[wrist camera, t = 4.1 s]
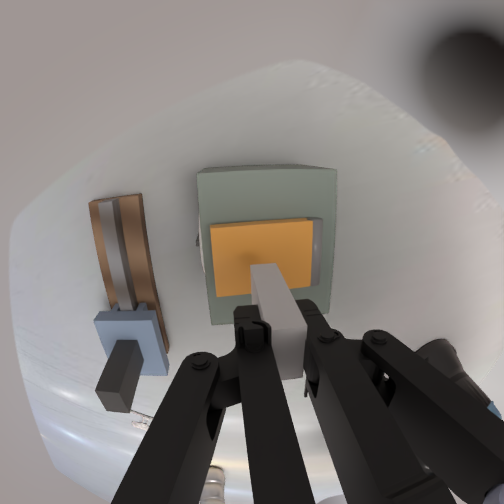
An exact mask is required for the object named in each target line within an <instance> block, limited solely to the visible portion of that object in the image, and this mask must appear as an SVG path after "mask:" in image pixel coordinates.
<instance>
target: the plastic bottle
mask: <svg viewBox="0 0 504 504" xmlns="http://www.w3.org/2000/svg"><path fill="white" fill-rule="evenodd" d="M224 485H225V475H224V472H223V471H222V470H221V469H218V468H213V467H209V471H208V474H207V477H206V481H205V484H204V487H203V491H202V494H201V497H200V504H225V502H224V501H225V500H224Z"/></svg>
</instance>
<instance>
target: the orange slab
mask: <svg viewBox="0 0 504 504" xmlns="http://www.w3.org/2000/svg"><path fill="white" fill-rule="evenodd" d="M210 232H211V244H212V255H213V266H214V276H215V286H216V295H217V297H224V296H234V295H243V294H251V273H250V265H254V264H268V263H276V264H277V266H278V268H279V270H280V272H281V274H282V276H283V278H284V280H285V282H286V284H287V286H288V288H289V289H293V288H301V287H308V286H318V285H319V284H320V272H321V255H322V233H323V219H322V218H318V217H309V218H295V219H280V220H265V221H252V222H239V223H227V224H215V225H210Z"/></svg>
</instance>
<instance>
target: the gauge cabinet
mask: <svg viewBox="0 0 504 504" xmlns="http://www.w3.org/2000/svg"><path fill="white" fill-rule="evenodd" d="M196 176H197V190H198V204H199V233H198V236H197V240H196V245H197V246H200V253H201V261H202V267H203V271H204V273H205V277H206V285H207V294H208V302H209V310H210V317H211V325H223V324H234V316H233V311H234V310H235V308H236V307H237V306H243V305H252V295H251V294H243V295H234V296H224V297H217V295H216V286H215V276H214V266H213V255H212V244H211V232H210V225H215V224H227V223H239V222H252V221H265V220H280V219H295V218H309V217H318V218H322V219H323V233H322V255H321V272H320V284H319V285H318V286H308V287H301V288H293V289H289V290H290V292H291V294H292V296H293V298H294V300H300V299H310V300H311V301H313V302H314V303H315V304H316V305H317V307H318V309H319V310H320V312H321V314H326V313H329V305H330V295H331V285H332V273H333V261H334V246H335V227H336V199H337V170H336V169H330V168H322V167H315V166H307V165H253V166H232V167H216V168H205V169H203V170H201V171H200V172H198V173H197V174H196Z"/></svg>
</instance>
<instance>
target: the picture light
mask: <svg viewBox="0 0 504 504" xmlns="http://www.w3.org/2000/svg"><path fill="white" fill-rule="evenodd" d="M130 412H131V413H134V414H137V415H140V416H143V417H142V418H143V420H144V419H147V420H150V419H151V420H153V417H150V416H147V415H144V414H141V413H139V412H136V411H133V410H130ZM147 424H148V421H147ZM132 425H133V426H134V427H137V428H140V429H143V430H146V431H147V430H148V428H149V426H148V425H146V424H143V421H142V423H139V422H135V421H133V422H132Z"/></svg>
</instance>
